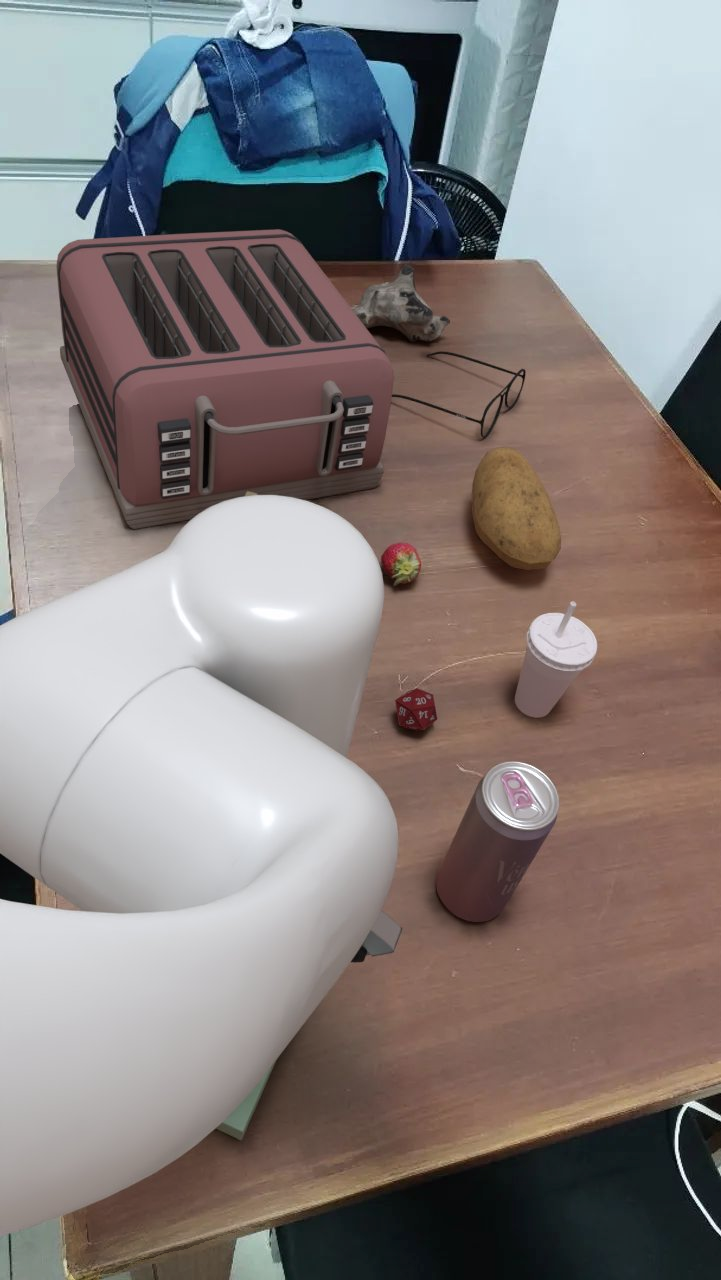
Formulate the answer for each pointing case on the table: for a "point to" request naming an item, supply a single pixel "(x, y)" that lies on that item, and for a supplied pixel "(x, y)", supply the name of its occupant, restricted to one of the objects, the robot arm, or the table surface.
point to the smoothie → (553, 660)
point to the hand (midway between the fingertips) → (233, 937)
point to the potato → (514, 510)
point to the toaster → (219, 371)
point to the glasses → (491, 400)
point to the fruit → (401, 562)
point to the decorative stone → (400, 308)
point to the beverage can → (497, 840)
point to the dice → (416, 710)
